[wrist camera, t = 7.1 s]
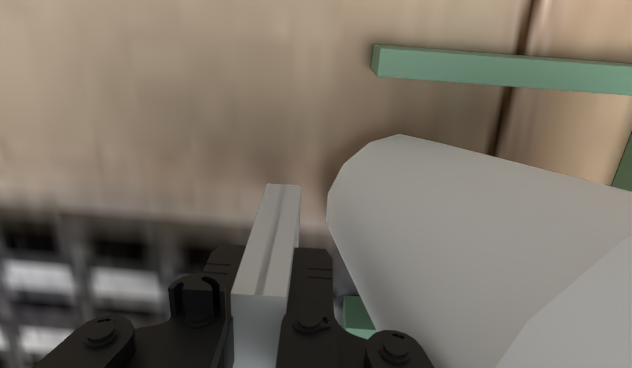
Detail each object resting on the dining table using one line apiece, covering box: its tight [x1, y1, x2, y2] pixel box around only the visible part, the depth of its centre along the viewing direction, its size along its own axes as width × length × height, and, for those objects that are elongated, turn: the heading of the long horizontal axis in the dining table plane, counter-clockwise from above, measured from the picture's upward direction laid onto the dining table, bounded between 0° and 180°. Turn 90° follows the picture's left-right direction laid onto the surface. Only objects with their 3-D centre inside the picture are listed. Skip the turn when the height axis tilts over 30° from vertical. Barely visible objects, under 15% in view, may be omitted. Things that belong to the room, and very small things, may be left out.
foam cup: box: [326, 134, 632, 368], centre depth 13 cm, size 10×9×13 cm
